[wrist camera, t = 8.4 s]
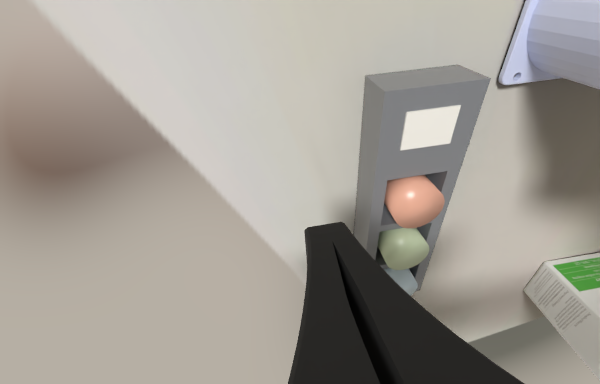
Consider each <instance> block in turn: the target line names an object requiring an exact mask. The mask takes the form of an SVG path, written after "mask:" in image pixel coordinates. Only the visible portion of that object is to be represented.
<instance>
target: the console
mask: <svg viewBox="0 0 600 384" xmlns="http://www.w3.org/2000/svg"><path fill="white" fill-rule="evenodd" d="M490 79H491V78H489V77H486V76H484V75H481V74H479V73H476V72H474V71H472V70H469V69H467V68H464V67H462V66H460V65H451V66H443V67H434V68H426V69H418V70H409V71H401V72H392V73H384V74H375V75H367V76H365V88H364V101H363V115H362V129H361V142H360V156H359V170H358V183H357V197H356V210H355V224H354V236H355V238H356V239H357V240H358V241H359V243H360V244H361V245H362V246H363V247H364V249H365V250H366V251H367V252H368V253H369V254H370V255H371V257H372V258H373V259H374V260H375V261H376V262H377V263H378V264H379V265H380V266H381V267H382V268H383V269H387V268H389V267H388V266H387V264H386V262H385V260H384V258H383V256H382V254H381V252H380V250H379V248H378V239H379V233H380V232H381V231H387V230H393V229H399V228H403V227H401V226H399V225H398V224H397V223H396V221H395V220H394V218H393V216H392V215H391V213H390V212H389V210H388V208H387V207H386V205H385V204H384V200H385V193H386V187H387V180H393V179H399V178H406V177H412V176H419V175H425V176H426V177H427V178H428V179H429V180H430V181H431V182H432V183H433V184H434V185H435V187H436V188H437V189H438V190H439V191H440V192H441V193H442V194H443V196H444V200H445V202H444V206H443V209H442V211H441V212H440V213H439V215H438V216H437V217H436V218H435V219H433V220H432V221H431V222H429V223H427V224H425V225H423V226H421V227H417V229H418V231H419V232H420V234H421V235H422V236H423V238H424V239H425V241H426V242H427V244H428V245H429V253H428V255H427V256H426V258H425V259H424V260H423V261H422V262H420V263H419V264H417V265H416V266H414V267H411V268H409V269H410V271H411V273H412V275H413V276H414V278H415V280H416V282H417V284H418V287H417V289H416V291H418V290H420V288H421V285H422V282H423V279H424V276H425V273H426V270H427V267H428V264H429V261H430V258H431V255H432V252H433V249H434V246H435V243H436V240H437V237H438V234H439V231H440V228H441V225H442V222H443V219H444V216H445V213H446V210H447V207H448V204H449V201H450V198H451V195H452V192H453V189H454V186H455V183H456V180H457V177H458V174H459V171H460V169H461V166H462V163H463V160H464V157H465V154H466V151H467V148H468V145H469V142H470V139H471V136H472V133H473V130H474V127H475V124H476V121H477V118H478V115H479V112H480V109H481V106H482V103H483V100H484V97H485V94H486V91H487V88H488V85H489V82H490Z"/></svg>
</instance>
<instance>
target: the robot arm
mask: <svg viewBox="0 0 600 384" xmlns="http://www.w3.org/2000/svg"><path fill="white" fill-rule="evenodd" d="M515 74H516V76H515V77H514V75H515ZM513 77H514V78H513ZM560 78H565V79H568V80H571V81H574V82H578V83H581V84H584V85H587V86H590V87H593V88H596V89H599V90H600V0H526V2H525V4H524V7H523V10H522V13H521V16H520V19H519V22H518V24H517V27H516V30H515V33H514V36H513V39H512V41H511V44H510V47H509V50H508V53H507V56H506V58H505V61H504V64H503V67H502V70H501V73H500V76H499V83H501V84H503V85H512V84H520V83H528V82H536V81H544V80H552V79H560ZM305 242H306V255H307V282H306V291H305V299H304V307H303V314H302V320H301V326H300V331H299V336H298V342H297V347H296V351H295V356H294V360H293V365H292V369H291V373H290V377H289V381H288V384H524V383H523V382H521V381H520V380H518V379H517V378H515V377H514V376H512V375H511V374H509V373H508V372H506V371H505V370H504V369H502V368H501V367H499V366H498V365H496V364H495V363H494V362H492V361H491V360H489V359H488V358H487V357H485V356H484V355H483V354H481V353H480V352H479V351H477V350H476V349H475V348H473V347H472V346H471V345H469V344H468V343H467V342H465V341H464V340H463V339H461V338H460V337H458V336H457V335H456V334H455V333H453V332H452V331H451V330H450V329H448V328H447V327H446V326H445V325H443V324H442V323H441V322H440V321H438V320H437V319H436V318H435V317H434V316H433V315H431V314H430V313H429V312H428V311H427V310H425V309H424V308H423V307H422V306H421V305H420V304H419V303H418V302H416V301H415V300H414V299H413V298H412V297H411V296H410V295H409V294H408V293H407V292H406V291H405V290H404V289H402V288H401V287H400V286H399V285H398V284H397V283H396V282H395V281H394V280H393V279H392V278H391V277H390V276H389V275H388V274H387V273H386V272H385V271H384V269H383V268H382V267H381V266H380V265H379V264H378V263H377V262H376V261H375V260H374V259H373V258H372V257H371V255H370V254H369V253H368V252H367V251H366V250H365V249H364V247H363V246H362V245H361V244H360V243H359V241H358V240H357V239H356V238H355V236H354V235H353V234H352V233H351V231H350V230H349V229H348V227H347V226H346V225H345V224H344V223H343V222H338V223H332V224H326V225H320V226H313V227H308V228H307V229H305Z"/></svg>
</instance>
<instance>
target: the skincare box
mask: <svg viewBox="0 0 600 384" xmlns="http://www.w3.org/2000/svg"><path fill="white" fill-rule="evenodd" d="M524 292H525V293H526V294H527V295H528V297H529V298H530V299H531V300H532V301H533V303H534V304H535V305H536V306H537V307H538V308H539V310H540V311H541V312H542V313H543V314H544V316H545V317H546V318H547V319H548V320H549V321H550V323H551V324H552V325H553V326H554V327H555V329H556V330H557V331H558V332H559V333H560V335H561V336H562V337H563V338H564V339H565V340H566V341H567V343H568V344H569V345H570V347H571V348H572V349H573V350H574V351H575V352H576V354H577V355H578V356H579V357H580V358H581V360H582V361H583V362H584V363H585V364H586V365H587V366H588V368H589V369H590V370H591V371H592V373H593V374H594V375H595V376H596V377H597V379H598V380H599V381H600V252H599V253H594V254H588V255H581V256H576V257H570V258H564V259H558V260H551V261H545V262H543V264H542V265H541V267H540V268H539V269H538V271H537V272H536V273H535V275H534V276H533V278H532V279H531V280H530V282H529V283H528V284H527V286H526V287H525V288H524Z"/></svg>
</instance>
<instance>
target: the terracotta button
mask: <svg viewBox="0 0 600 384" xmlns="http://www.w3.org/2000/svg"><path fill="white" fill-rule="evenodd" d="M444 202H445V200H444V196H443V194H442V193H441V192H440V191H439V190H438V189H437V188H436V187H435V185H434V184H433V183H432V182H431V181H430V180H429V179H428V178H427V177H426V176H425V175H419V176H412V177H406V178H399V179H393V180H387V187H386V193H385V200H384V204H385V205H386V207H387V208H388V210H389V212H390V213H391V215H392V216H393V218H394V220H395V221H396V223H397V224H398V225H399V226H401V227H403V228H417V227H421V226H423V225H425V224H427V223H429V222H431V221H432V220H433V219H435V218H436V217H437V216H438V215H439V213H440V212H441V211H442V209H443V206H444Z"/></svg>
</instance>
